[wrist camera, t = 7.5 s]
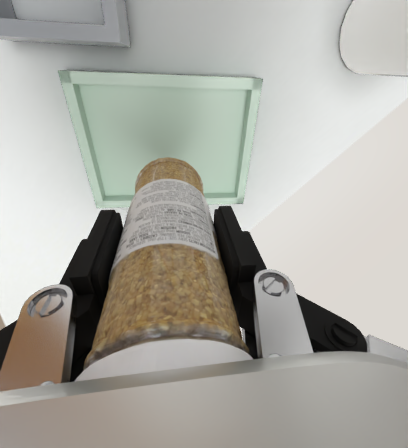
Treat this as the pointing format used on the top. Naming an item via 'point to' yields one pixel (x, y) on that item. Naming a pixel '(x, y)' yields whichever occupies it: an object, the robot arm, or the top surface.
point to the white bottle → (376, 37)
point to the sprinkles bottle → (166, 283)
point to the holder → (68, 27)
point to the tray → (162, 129)
